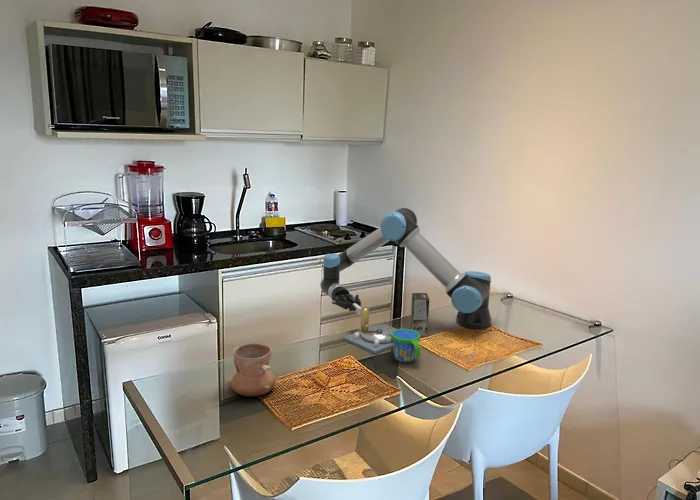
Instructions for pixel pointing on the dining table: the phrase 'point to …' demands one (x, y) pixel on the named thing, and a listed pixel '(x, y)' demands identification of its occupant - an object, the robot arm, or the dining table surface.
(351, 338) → the stand
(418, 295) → the coffee box
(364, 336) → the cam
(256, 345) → the ceramic jug
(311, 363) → the dining table surface
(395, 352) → the snack cup
